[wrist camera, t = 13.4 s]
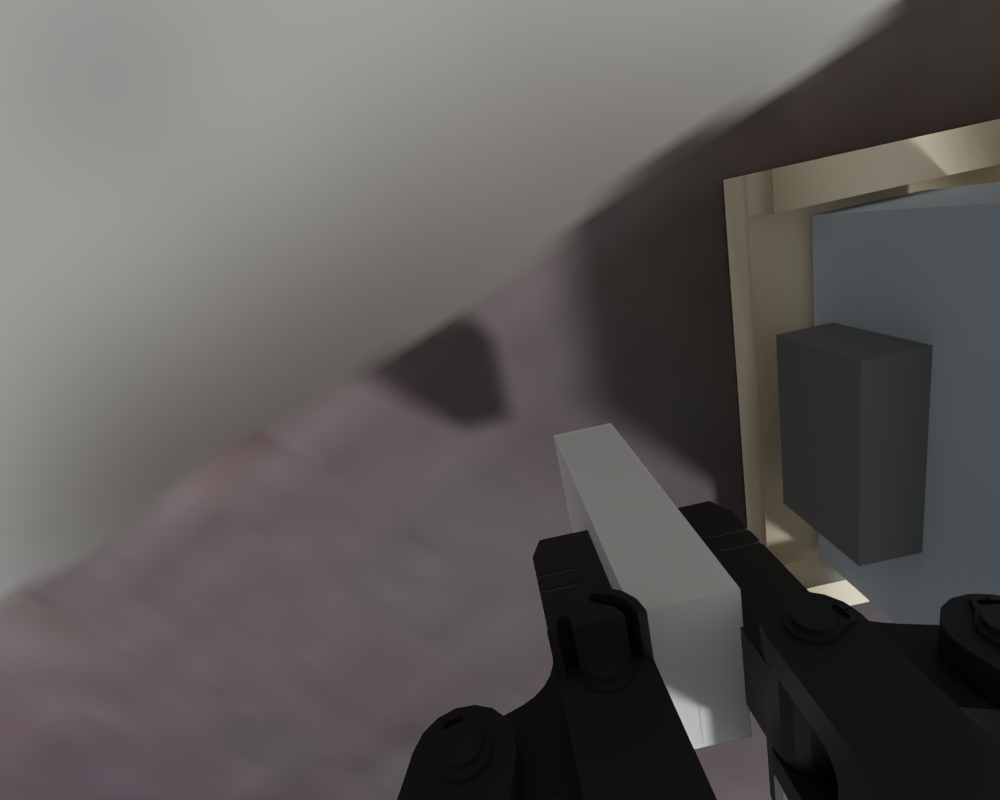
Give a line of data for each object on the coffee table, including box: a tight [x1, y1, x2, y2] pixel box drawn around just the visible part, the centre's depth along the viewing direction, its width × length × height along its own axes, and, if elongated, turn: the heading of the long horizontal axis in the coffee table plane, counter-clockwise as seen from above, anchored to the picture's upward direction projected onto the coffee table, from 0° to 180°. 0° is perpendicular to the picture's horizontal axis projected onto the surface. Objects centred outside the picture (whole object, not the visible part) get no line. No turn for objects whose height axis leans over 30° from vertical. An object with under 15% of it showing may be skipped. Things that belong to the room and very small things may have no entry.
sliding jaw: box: [776, 182, 1000, 625], centre depth 12 cm, size 5×10×6 cm, turn 12°
